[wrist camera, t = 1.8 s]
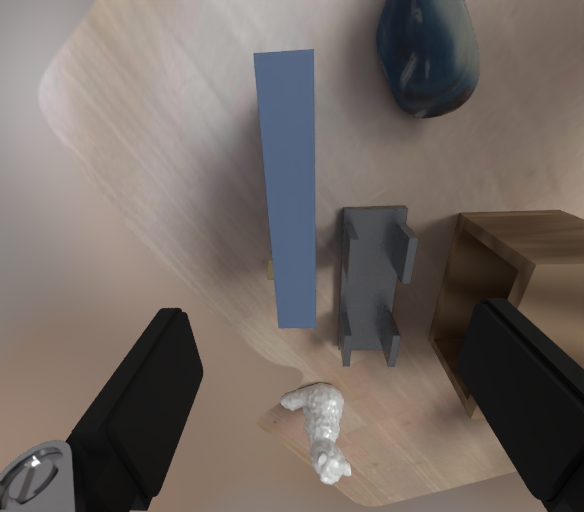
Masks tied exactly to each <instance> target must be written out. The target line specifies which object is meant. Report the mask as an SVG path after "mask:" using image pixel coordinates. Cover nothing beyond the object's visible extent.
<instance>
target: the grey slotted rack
mask: <svg viewBox="0 0 584 512" xmlns="http://www.w3.org/2000/svg"><path fill="white" fill-rule="evenodd" d="M407 211H408V208H407V207H406V206H374V207H343V231H342V255H341V279H340V303H339V327H338V350H341V355H342V362H343V366H350V355H351V350H383V352H384V355H385V358H386V361H387V365H388V367H395V363H396V358H397V352H398V347H399V342H400V336H401V335H400V333H399V331H398V328H397V326H396V323H395V321H394V319H393V316H392V308H393V301H394V295H395V288H396V282H397V275H398V277H399V279H400V281H401V283H402V284H410V282H411V276H412V271H413V265H414V260H415V255H416V249H417V244H418V237H417V236H416V235H415V234H414V232H413V231H412V230H411V229H410V228H409V227H408V225H407V224H406V218H407Z"/></svg>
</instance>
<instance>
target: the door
mask: <svg viewBox="0 0 584 512" xmlns="http://www.w3.org/2000/svg"><path fill="white" fill-rule="evenodd" d="M253 54H254V65H255V76H256V87H257V98H258V109H259V120H260V130H261V141H262V152H263V163H264V174H265V185H266V196H267V207H268V217H269V228H270V239H271V250H272V260H268V264H267V274H268V279H269V280H274V283H275V294H276V304H277V315H278V326H279V328H316V251H315V128H314V49H312V50H297V51H282V52H268V53H253Z"/></svg>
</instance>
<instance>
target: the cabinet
mask: <svg viewBox="0 0 584 512" xmlns="http://www.w3.org/2000/svg"><path fill="white" fill-rule="evenodd" d="M494 298H503V299H506V300H508V301H509V302H510V303H511V304H512V305H513V306H514V307H515V308H517V309H518V310H519V311H520V312H521V313H522V314H523V315H524V316H525V317H527V318H528V319H529V320H530V321H531V322H532V323H533V324H534V325H535V326H537V327H538V328H539V329H540V330H541V331H542V332H543V333H544V334H545V335H546V336H548V337H549V338H550V339H551V340H552V341H553V342H554V343H555V344H556V345H558V346H559V347H560V348H561V349H562V350H563V351H564V352H565V353H566V354H568V355H569V356H570V357H571V358H572V359H573V360H574V361H575V362H576V363H577V364H579V365H580V366H581V367H582V368H583V369H584V219H581V218H578V217H576V216H573V215H571V214H568V213H566V212H563V211H561V210H545V211H510V212H476V213H459V217H458V221H457V225H456V229H455V233H454V237H453V241H452V245H451V249H450V254H449V258H448V262H447V266H446V270H445V274H444V278H443V282H442V286H441V290H440V294H439V298H438V302H437V306H436V310H435V314H434V318H433V322H432V326H431V330H430V334H429V338H428V340H429V342H430V343H431V345H432V347H433V349H434V351H435V353H436V355H437V357H438V359H439V360H440V362H441V364H442V366H443V368H444V370H445V372H446V374H447V376H448V377H449V379H450V381H451V383H452V385H453V387H454V389H455V391H456V392H457V394H458V396H459V398H460V400H461V402H462V404H463V406H464V408H465V409H466V411H467V413H468V415H469V417H470V419H485V420H486V418H485V417H484V415H483V413H482V412H481V410H480V408H479V407H478V405H477V404H476V402H475V400H474V399H473V397H472V395H471V394H470V392H469V390H468V389H467V387H466V385H465V384H464V382H463V380H462V379H461V377H460V375H459V373H458V370H457V362H458V359H459V355H460V352H461V349H462V345H463V342H464V339H465V336H466V332H467V329H468V326H469V322H470V319H471V316H472V312H473V309H474V307H475V305H476V304H479V302H480V301H481V300H482V299H494Z"/></svg>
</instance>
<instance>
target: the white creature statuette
mask: <svg viewBox="0 0 584 512" xmlns="http://www.w3.org/2000/svg"><path fill="white" fill-rule="evenodd" d="M280 402H281V405H282V406H284V408H286V409H290V410H291V411H294V410H297V409H299V408H301V407H303V408H302V409H303V412H304V415H305V417H306V423H305V424H304V426H303V428H304V429H305V430H306V432H307V435H308V439H309V441H310V445H311V446H312V447H311V448H310V449H309V450H310V456H309V457H310V459H312V463H313V467H314V469H315V471H316V472H317V473H318V474H319V475H320V480H321V481H322V482H323V483H325V484H330V485H332V484H333V483H337V482H338V480H339V479H340V477H341V475H345V476H351V468H350V464H349V463H348V462H347V461H345V455H344V454H342V453H341V451H340V449H339V447H337V445H336V444H335V441H336V438H338V433H339V431H340V428H339V423H340V421H339V420H340V418H341V415H342V411H343V406H344V404H343V402H344V399H343V397H342V394H341V393H340V392H339V389H337V388H335V387H334V386H333V385H329V384H326V383H318V384H313V385H312V386H308V387H304V388H301V389H298V390H295V391H291V392H288V393H285V395H283V396H282V397H281V399H280Z"/></svg>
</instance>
